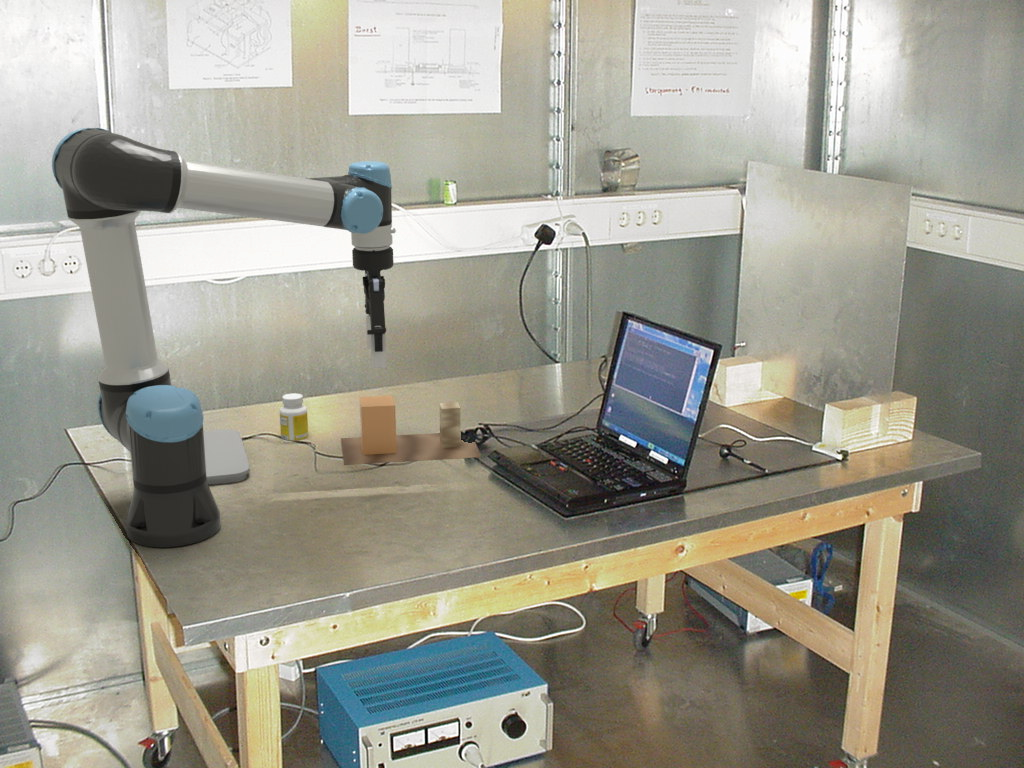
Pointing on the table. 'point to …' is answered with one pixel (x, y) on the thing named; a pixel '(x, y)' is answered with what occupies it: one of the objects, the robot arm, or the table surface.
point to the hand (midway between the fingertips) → (376, 357)
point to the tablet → (225, 456)
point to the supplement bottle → (293, 418)
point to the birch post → (450, 425)
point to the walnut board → (408, 450)
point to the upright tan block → (378, 425)
